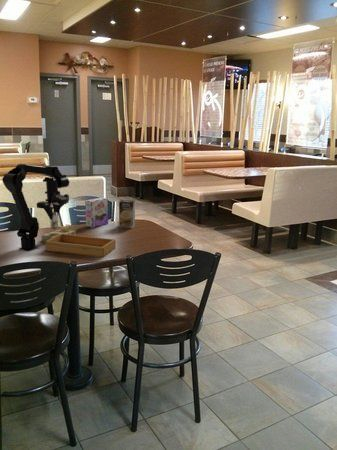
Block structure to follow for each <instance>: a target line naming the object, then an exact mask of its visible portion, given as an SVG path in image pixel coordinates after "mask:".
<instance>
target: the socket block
mask: <svg viewBox="0 0 337 450" xmlns="http://www.w3.org/2000/svg"><path fill="white" fill-rule="evenodd" d="M59 234H69V235H77V232H76V230H72V229H70V231H69V232H65V231H61V228H60V229H59V228H58V229H55V230H53V231H51V232H48V233H45V234H42V235H41V241H42V242H46V241H47V240H49V239H51V238H53V237H55V236H57V235H59Z"/></svg>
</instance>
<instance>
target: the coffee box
mask: <svg viewBox="0 0 337 450" xmlns="http://www.w3.org/2000/svg"><path fill="white" fill-rule="evenodd" d="M135 226H136V200H131V199H130V200H129V199H121V200H119V202H118V228H125V229H127V228H129V229H134V227H135Z"/></svg>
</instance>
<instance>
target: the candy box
mask: <svg viewBox="0 0 337 450" xmlns="http://www.w3.org/2000/svg"><path fill="white" fill-rule="evenodd" d="M108 201H109V200H108V198H107V197H98V198H91V199H85V206H84V207H85V227H88V228H92V229H93V228H96V227H97V228H98V227H102V226H105V225H108V224H109V208H108V207H109V204H108V203H109V202H108Z"/></svg>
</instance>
